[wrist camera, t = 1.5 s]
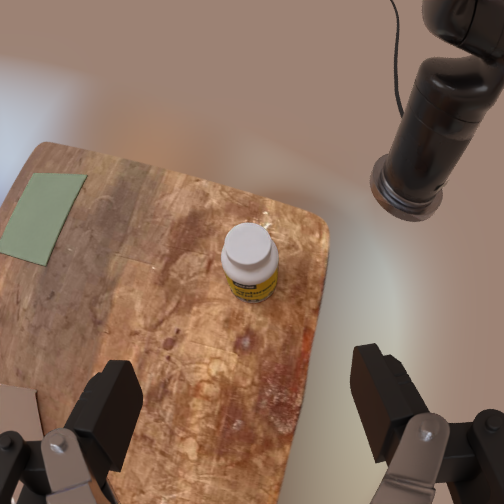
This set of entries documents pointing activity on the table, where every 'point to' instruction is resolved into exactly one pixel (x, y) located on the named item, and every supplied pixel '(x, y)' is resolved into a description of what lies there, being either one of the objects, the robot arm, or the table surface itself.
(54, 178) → the mat
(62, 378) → the table surface
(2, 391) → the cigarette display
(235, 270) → the supplement bottle
